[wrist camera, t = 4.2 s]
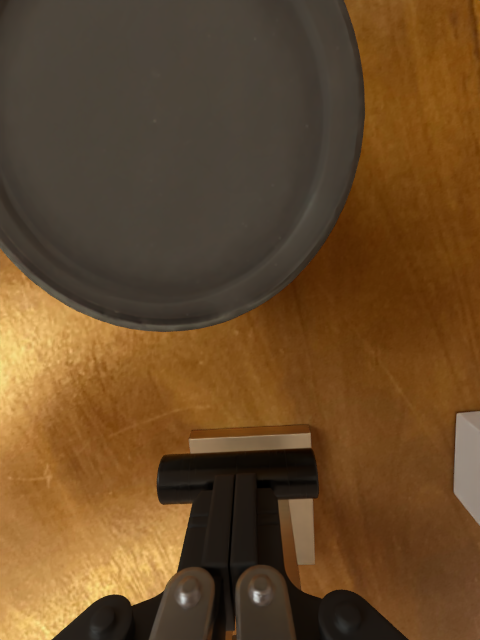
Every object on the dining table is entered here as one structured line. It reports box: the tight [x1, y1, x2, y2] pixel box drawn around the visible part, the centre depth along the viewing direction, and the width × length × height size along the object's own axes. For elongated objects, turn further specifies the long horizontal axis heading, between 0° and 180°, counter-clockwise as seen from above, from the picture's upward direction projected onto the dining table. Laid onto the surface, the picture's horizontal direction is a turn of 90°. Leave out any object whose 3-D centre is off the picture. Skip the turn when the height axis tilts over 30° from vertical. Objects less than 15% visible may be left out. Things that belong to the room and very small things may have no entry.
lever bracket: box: [189, 425, 315, 640], centre depth 20 cm, size 12×9×14 cm
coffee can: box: [0, 0, 365, 332], centre depth 15 cm, size 10×10×14 cm
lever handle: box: [157, 448, 319, 640], centre depth 14 cm, size 13×6×2 cm, turn 4°
